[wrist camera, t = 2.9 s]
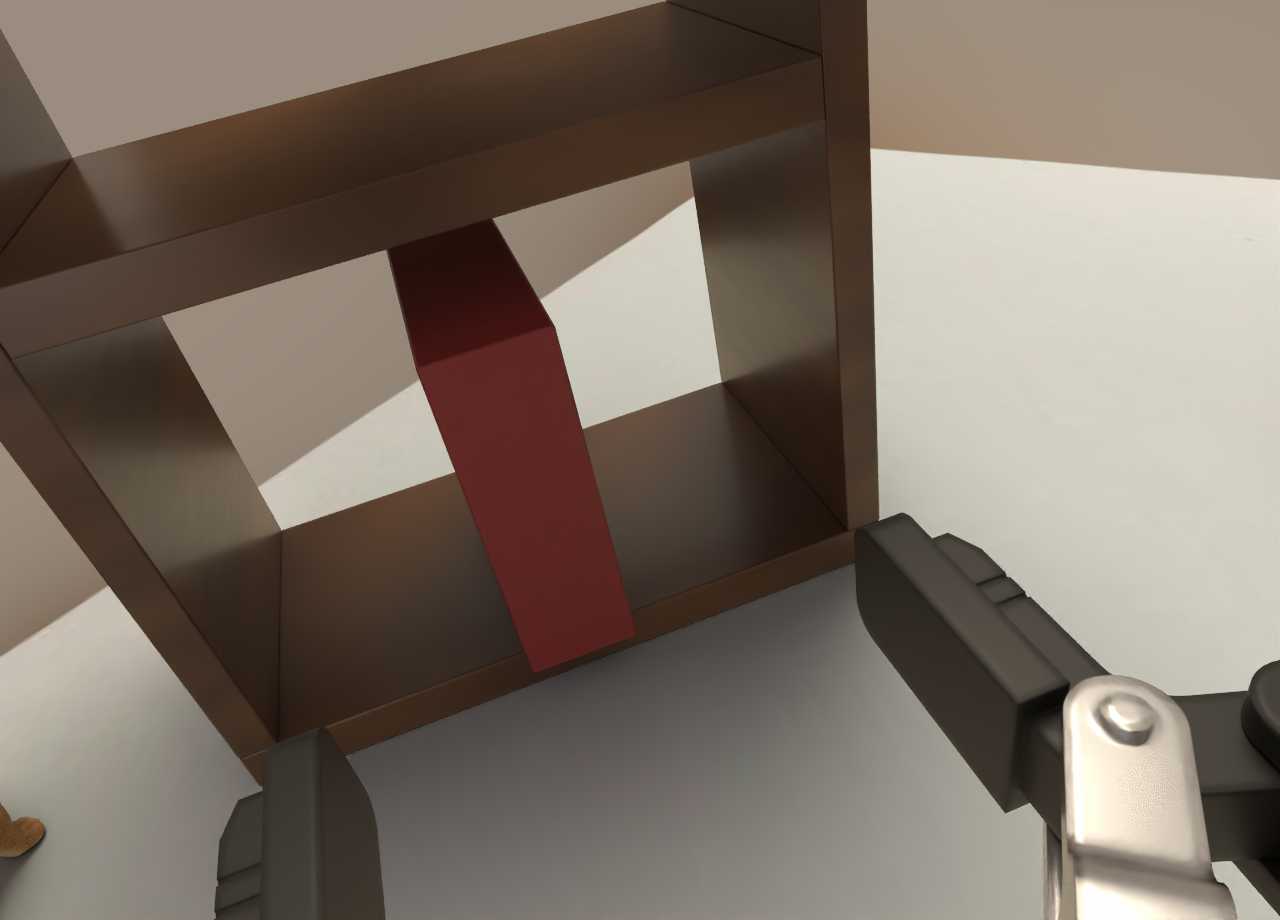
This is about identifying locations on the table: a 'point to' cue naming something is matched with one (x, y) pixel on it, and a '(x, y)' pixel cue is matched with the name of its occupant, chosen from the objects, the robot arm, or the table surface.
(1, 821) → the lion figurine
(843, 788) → the table surface
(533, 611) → the book
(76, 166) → the bookcase
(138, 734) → the table surface
